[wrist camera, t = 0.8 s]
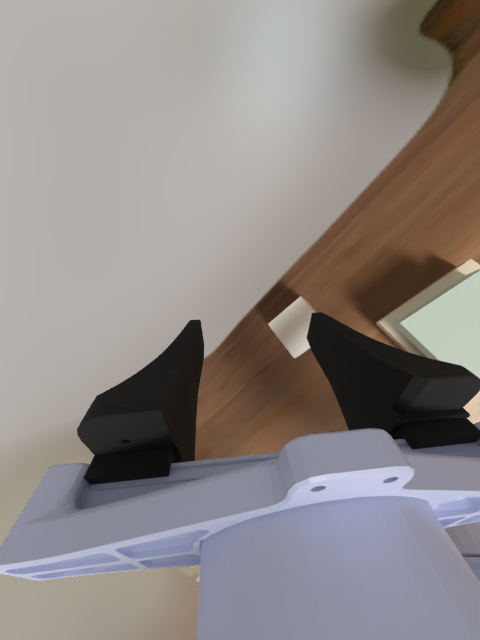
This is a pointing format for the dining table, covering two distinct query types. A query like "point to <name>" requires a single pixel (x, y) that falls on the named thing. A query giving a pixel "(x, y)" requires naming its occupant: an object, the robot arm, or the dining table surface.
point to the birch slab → (419, 299)
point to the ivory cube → (294, 326)
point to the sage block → (448, 324)
